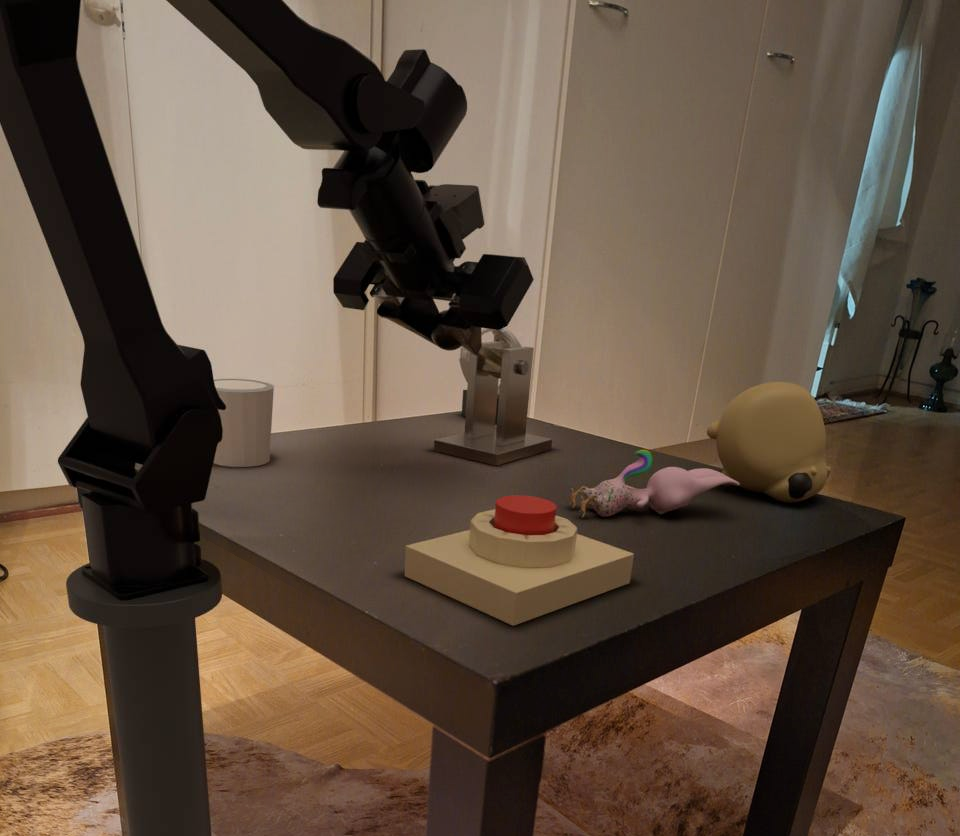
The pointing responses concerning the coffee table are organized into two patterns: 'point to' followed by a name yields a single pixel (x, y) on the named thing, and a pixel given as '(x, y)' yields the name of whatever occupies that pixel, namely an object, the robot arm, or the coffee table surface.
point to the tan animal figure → (773, 442)
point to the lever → (450, 343)
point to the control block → (517, 568)
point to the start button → (525, 515)
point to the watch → (506, 342)
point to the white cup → (244, 422)
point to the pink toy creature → (650, 488)
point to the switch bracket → (512, 412)
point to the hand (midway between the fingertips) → (463, 348)
